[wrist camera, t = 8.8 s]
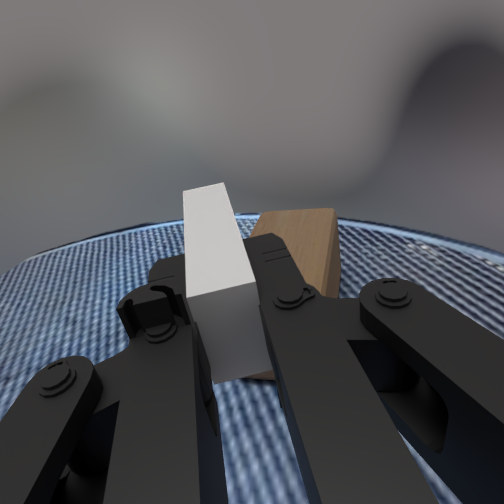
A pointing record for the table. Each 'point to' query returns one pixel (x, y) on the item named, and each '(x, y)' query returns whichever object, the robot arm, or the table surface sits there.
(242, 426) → the table surface
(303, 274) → the wooden block
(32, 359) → the table surface
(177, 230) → the table surface
